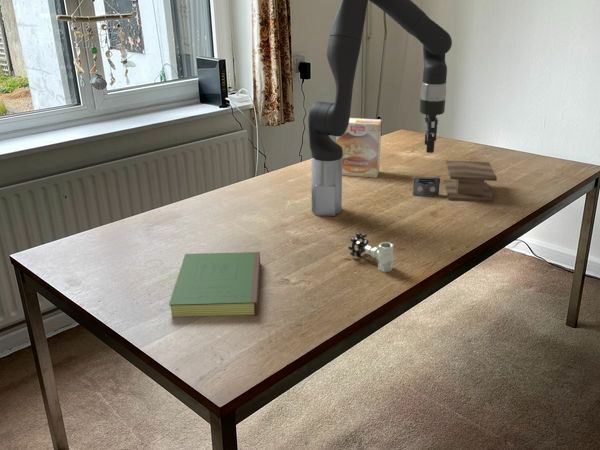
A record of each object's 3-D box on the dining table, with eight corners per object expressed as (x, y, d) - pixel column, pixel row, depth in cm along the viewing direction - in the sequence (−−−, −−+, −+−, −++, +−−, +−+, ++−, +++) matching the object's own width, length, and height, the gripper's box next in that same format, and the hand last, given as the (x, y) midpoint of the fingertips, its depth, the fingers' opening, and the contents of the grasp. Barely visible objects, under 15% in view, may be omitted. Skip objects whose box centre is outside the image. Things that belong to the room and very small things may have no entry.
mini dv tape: (438, 194, 196) (439, 177, 194) (438, 196, 195) (440, 178, 192) (412, 193, 197) (413, 176, 194) (413, 195, 195) (414, 178, 193)
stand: (493, 201, 189) (496, 177, 186) (448, 199, 191) (450, 176, 188) (486, 184, 204) (488, 162, 201) (444, 182, 206) (446, 160, 202)
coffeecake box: (335, 175, 214) (336, 121, 206) (338, 169, 221) (339, 116, 213) (377, 178, 211) (379, 123, 203) (379, 171, 217) (382, 118, 209)
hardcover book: (257, 317, 130) (256, 302, 129) (170, 319, 130) (168, 304, 128) (260, 263, 153) (259, 250, 152) (187, 265, 153) (185, 252, 151)
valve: (400, 267, 150) (365, 251, 158) (401, 243, 147) (366, 228, 156) (382, 276, 146) (347, 259, 154) (383, 251, 143) (348, 236, 152)
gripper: (447, 102, 176) (443, 155, 183) (443, 92, 189) (439, 142, 196) (422, 102, 177) (418, 155, 184) (419, 92, 190) (415, 141, 196)
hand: (428, 148), depth 190 cm, fingers open, 8 cm apart
